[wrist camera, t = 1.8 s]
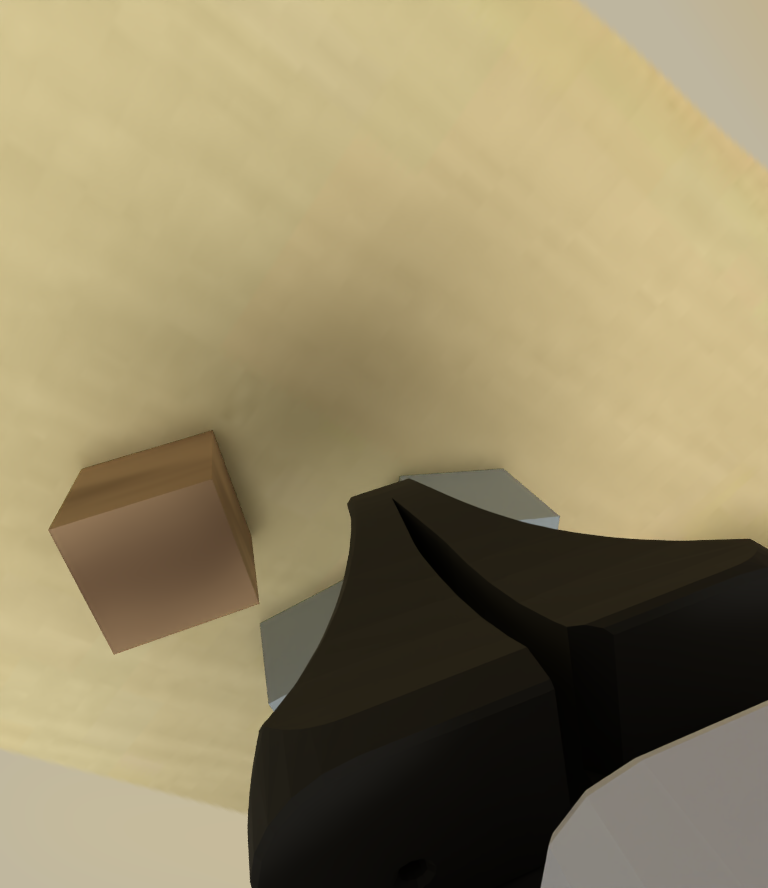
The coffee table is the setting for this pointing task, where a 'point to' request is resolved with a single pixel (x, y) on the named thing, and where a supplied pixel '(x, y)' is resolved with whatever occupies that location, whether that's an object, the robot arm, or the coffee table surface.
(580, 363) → the coffee table surface
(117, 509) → the plain walnut block
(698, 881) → the robot arm
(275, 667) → the labelled block
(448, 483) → the labelled block
